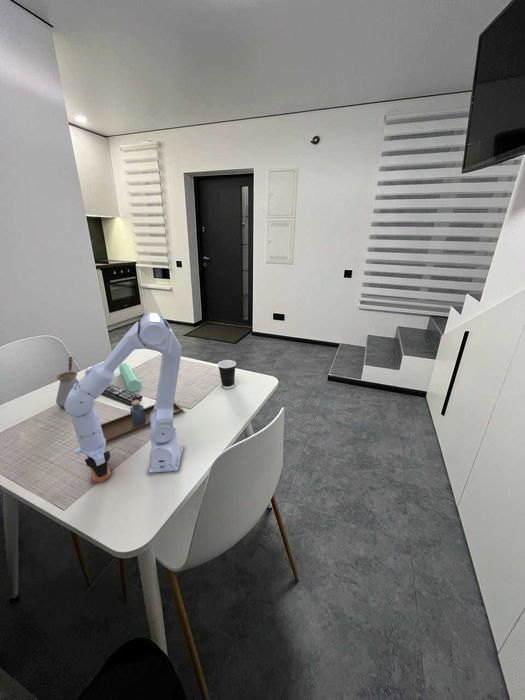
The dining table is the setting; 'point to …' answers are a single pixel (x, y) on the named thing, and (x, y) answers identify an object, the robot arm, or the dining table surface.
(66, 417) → the dining table surface
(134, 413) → the blue bottle middle
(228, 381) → the dixie cup
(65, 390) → the coffee pot
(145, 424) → the tray
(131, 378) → the container
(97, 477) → the terracotta bottle
